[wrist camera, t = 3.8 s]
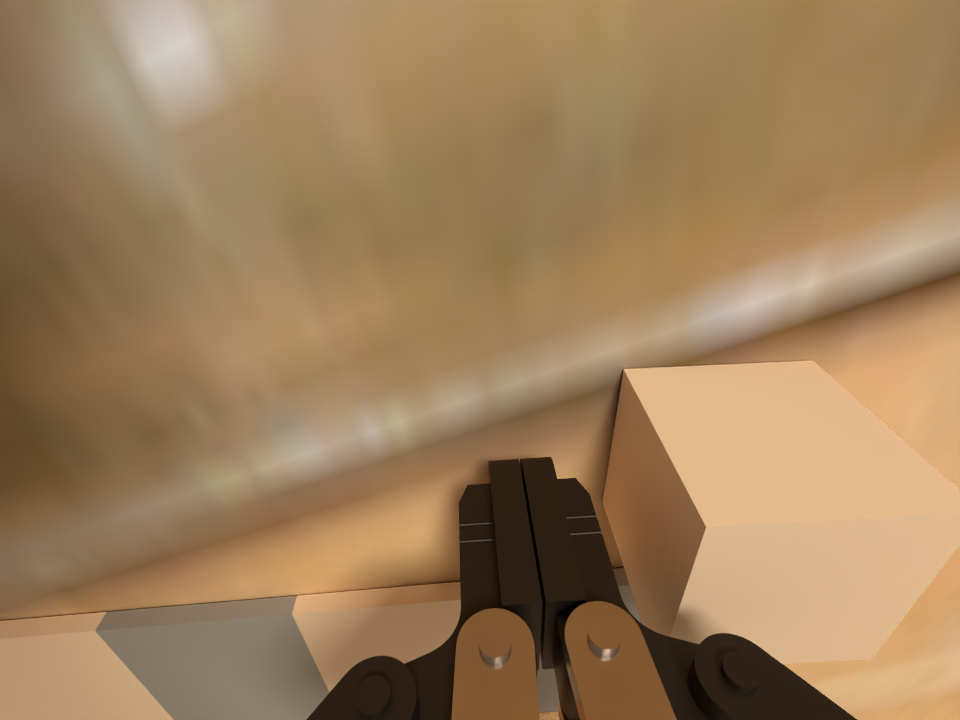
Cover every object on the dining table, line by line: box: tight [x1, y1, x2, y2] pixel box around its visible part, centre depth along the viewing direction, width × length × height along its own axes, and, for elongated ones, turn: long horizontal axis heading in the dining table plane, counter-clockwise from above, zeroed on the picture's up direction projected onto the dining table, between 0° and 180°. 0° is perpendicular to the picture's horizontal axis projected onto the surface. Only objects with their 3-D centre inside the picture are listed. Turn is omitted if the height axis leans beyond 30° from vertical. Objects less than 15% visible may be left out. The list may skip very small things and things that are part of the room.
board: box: [0, 568, 642, 720], centre depth 18 cm, size 8×24×1 cm, turn 94°
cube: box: [603, 361, 960, 664], centre depth 11 cm, size 4×4×4 cm
